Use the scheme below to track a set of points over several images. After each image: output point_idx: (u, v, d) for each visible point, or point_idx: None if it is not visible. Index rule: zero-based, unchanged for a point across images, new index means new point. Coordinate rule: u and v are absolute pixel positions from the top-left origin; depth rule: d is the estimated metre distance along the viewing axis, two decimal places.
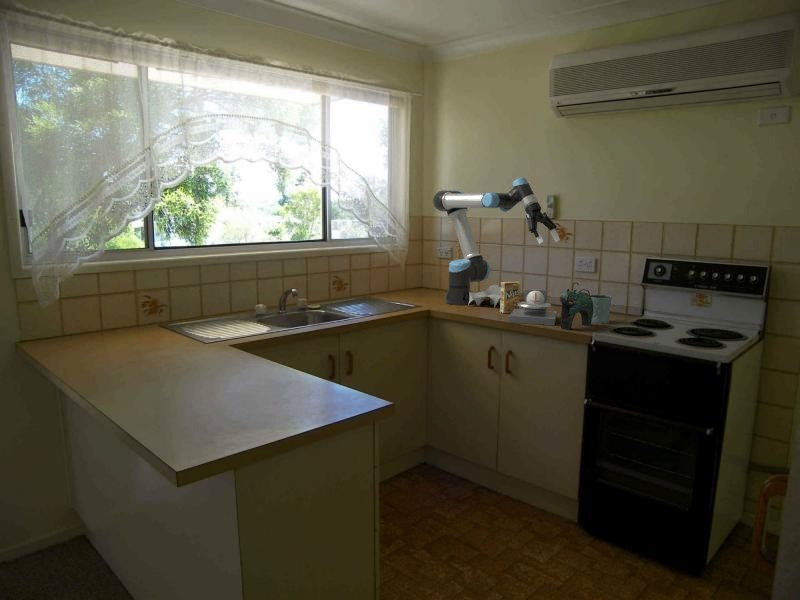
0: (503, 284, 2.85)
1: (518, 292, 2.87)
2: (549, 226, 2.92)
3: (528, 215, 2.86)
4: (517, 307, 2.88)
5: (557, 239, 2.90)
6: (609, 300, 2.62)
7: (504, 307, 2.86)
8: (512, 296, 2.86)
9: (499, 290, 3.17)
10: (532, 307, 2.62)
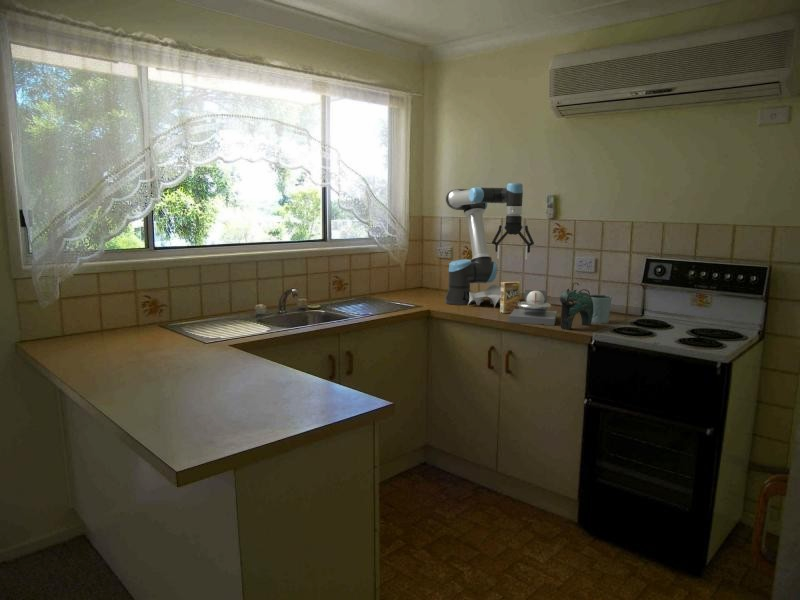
0: (503, 284, 2.85)
1: (518, 292, 2.87)
2: (524, 241, 2.82)
3: (499, 227, 2.85)
4: (517, 307, 2.88)
5: None
6: (609, 300, 2.62)
7: (504, 307, 2.86)
8: (512, 296, 2.86)
9: (499, 290, 3.17)
10: (532, 307, 2.62)
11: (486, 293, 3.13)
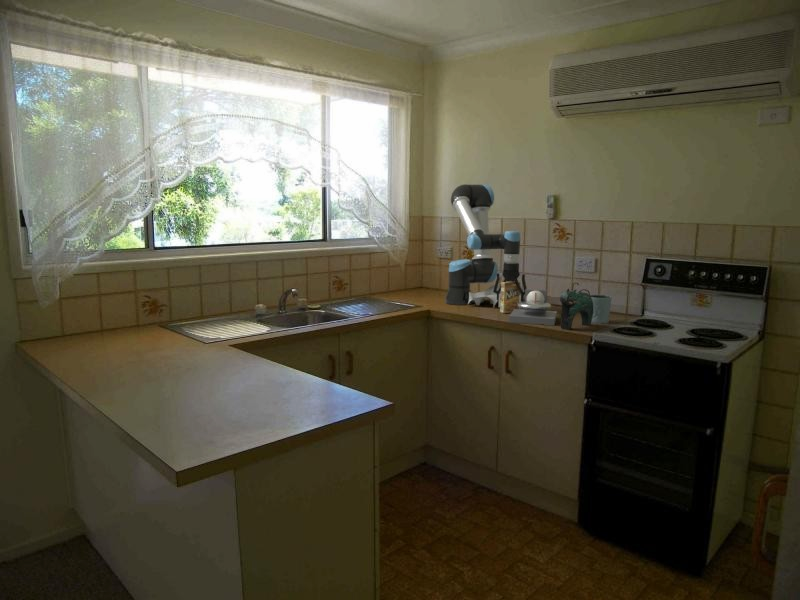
0: (503, 284, 2.85)
1: (518, 292, 2.87)
2: (519, 290, 2.86)
3: (497, 275, 2.88)
4: (517, 307, 2.88)
5: None
6: (609, 300, 2.62)
7: (504, 307, 2.86)
8: (512, 296, 2.86)
9: None
10: (532, 307, 2.62)
11: (486, 293, 3.13)
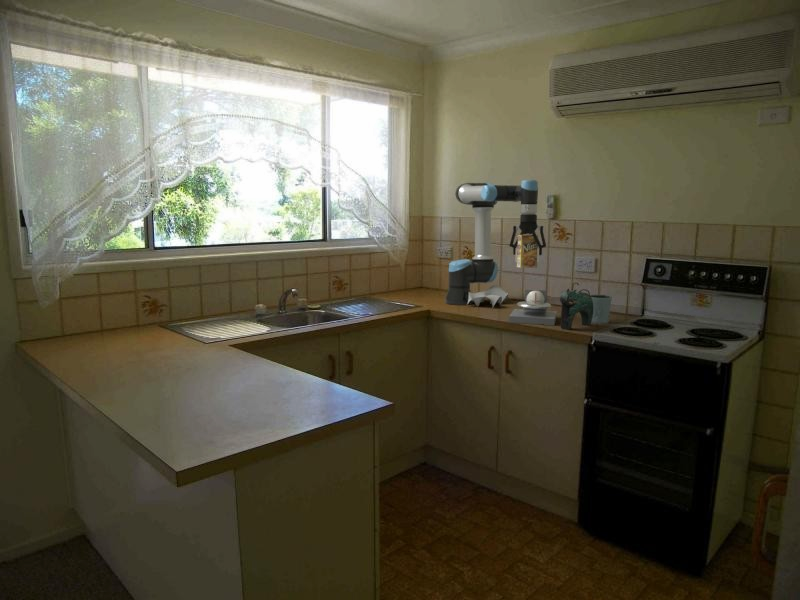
0: (520, 237, 2.69)
1: (536, 245, 2.71)
2: (537, 243, 2.70)
3: None
4: (535, 261, 2.72)
5: (537, 260, 2.71)
6: (609, 300, 2.62)
7: (521, 261, 2.70)
8: (529, 249, 2.70)
9: (499, 290, 3.15)
10: (532, 307, 2.62)
11: (486, 293, 3.12)
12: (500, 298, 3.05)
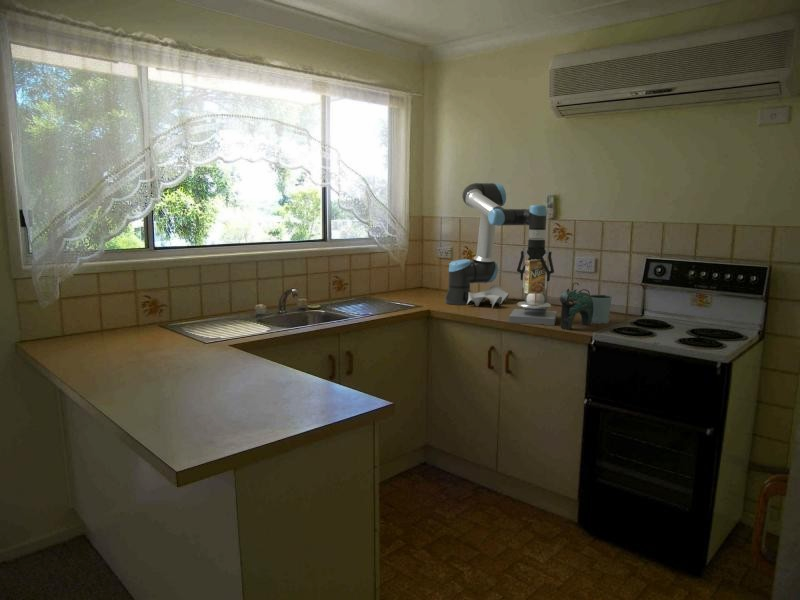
0: (528, 262, 2.64)
1: (544, 271, 2.66)
2: (545, 268, 2.65)
3: (521, 253, 2.67)
4: (543, 287, 2.67)
5: None
6: (609, 300, 2.62)
7: (529, 287, 2.65)
8: (537, 275, 2.65)
9: (500, 290, 3.15)
10: (532, 307, 2.62)
11: (486, 293, 3.12)
12: (500, 298, 3.05)
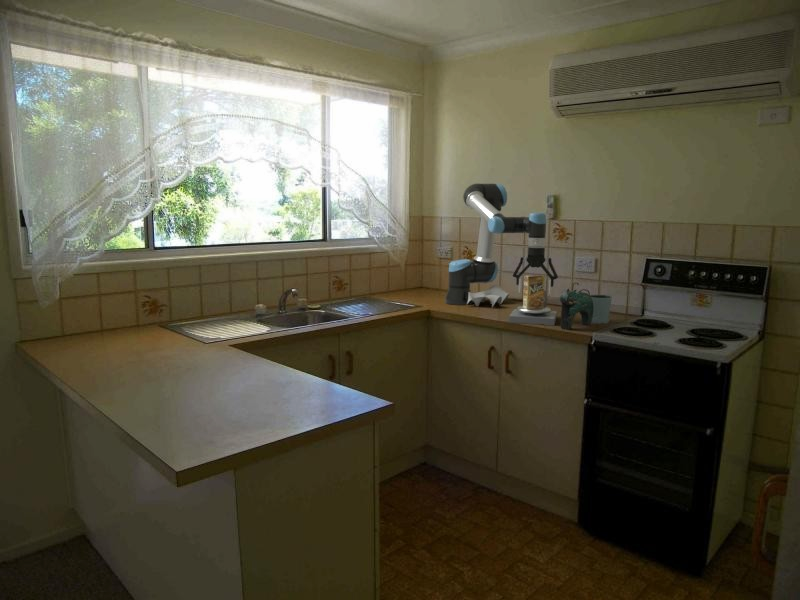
0: (527, 278, 2.65)
1: (542, 286, 2.67)
2: None
3: (520, 259, 2.68)
4: (541, 302, 2.68)
5: None
6: (609, 300, 2.62)
7: (528, 302, 2.66)
8: (536, 290, 2.67)
9: (500, 290, 3.15)
10: (532, 312, 2.63)
11: (486, 293, 3.12)
12: (500, 298, 3.05)
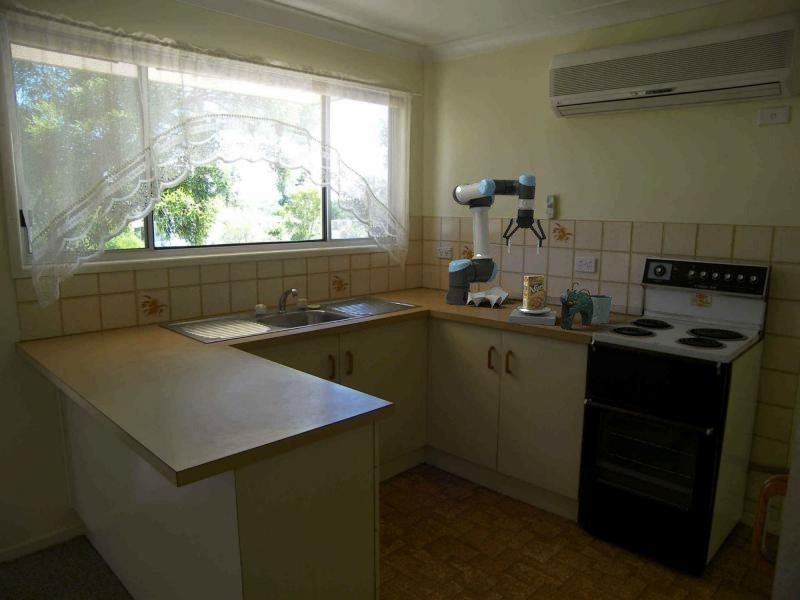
0: (527, 278, 2.65)
1: (543, 286, 2.67)
2: None
3: None
4: (541, 302, 2.68)
5: (537, 252, 2.75)
6: (609, 300, 2.62)
7: (528, 302, 2.66)
8: (536, 290, 2.66)
9: (500, 291, 3.15)
10: (532, 312, 2.63)
11: (486, 293, 3.12)
12: (500, 298, 3.05)
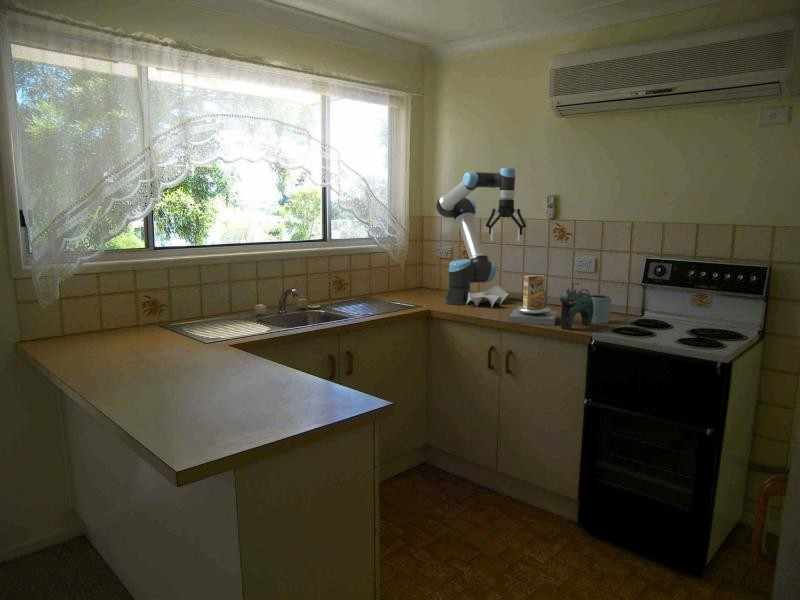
0: (527, 278, 2.65)
1: (543, 286, 2.67)
2: (517, 224, 2.94)
3: None
4: (541, 302, 2.68)
5: None
6: (609, 300, 2.62)
7: (528, 302, 2.66)
8: (536, 290, 2.66)
9: (500, 291, 3.14)
10: (532, 312, 2.63)
11: (486, 293, 3.12)
12: (499, 298, 3.04)
